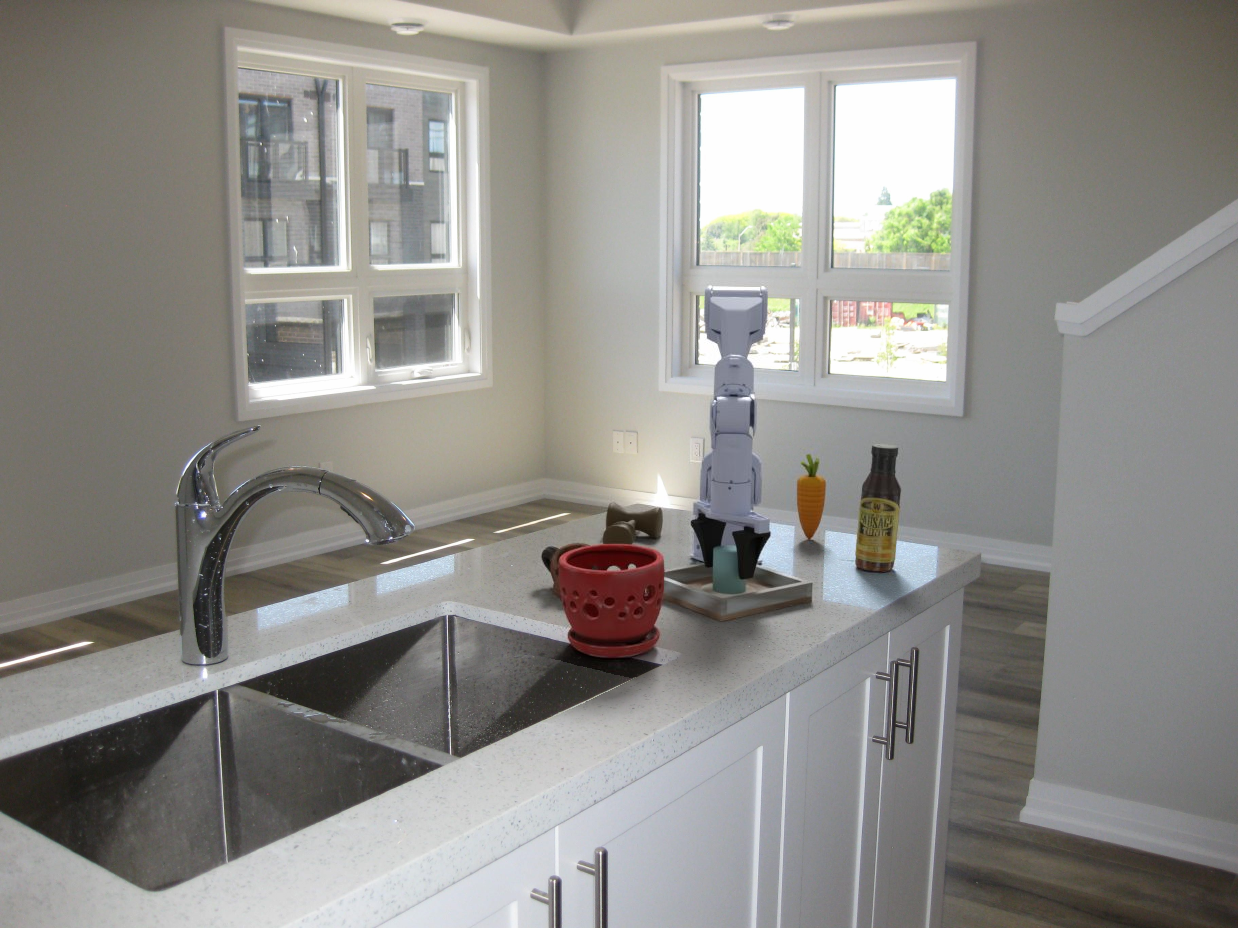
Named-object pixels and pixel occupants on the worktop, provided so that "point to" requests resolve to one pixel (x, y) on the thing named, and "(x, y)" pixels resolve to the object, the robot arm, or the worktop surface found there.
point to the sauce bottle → (879, 512)
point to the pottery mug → (551, 562)
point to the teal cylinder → (726, 571)
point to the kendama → (631, 524)
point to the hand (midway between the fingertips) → (728, 572)
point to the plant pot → (612, 598)
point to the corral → (760, 596)
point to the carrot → (810, 498)
